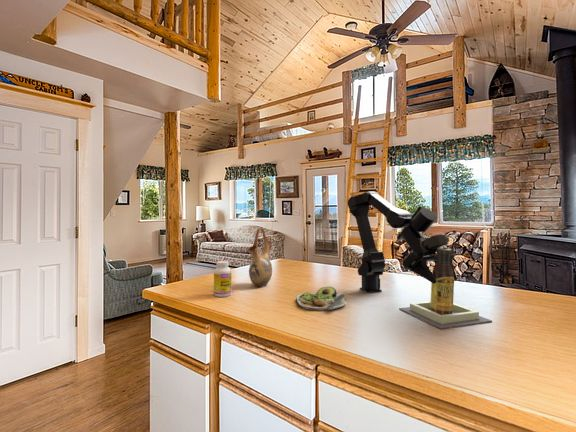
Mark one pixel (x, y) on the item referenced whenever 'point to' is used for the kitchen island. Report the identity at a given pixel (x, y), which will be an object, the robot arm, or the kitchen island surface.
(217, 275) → the supplement bottle
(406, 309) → the rubber mat
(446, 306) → the sauce bottle
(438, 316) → the bottle collar
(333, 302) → the salad plate
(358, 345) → the kitchen island surface
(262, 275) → the ceramic vessel
